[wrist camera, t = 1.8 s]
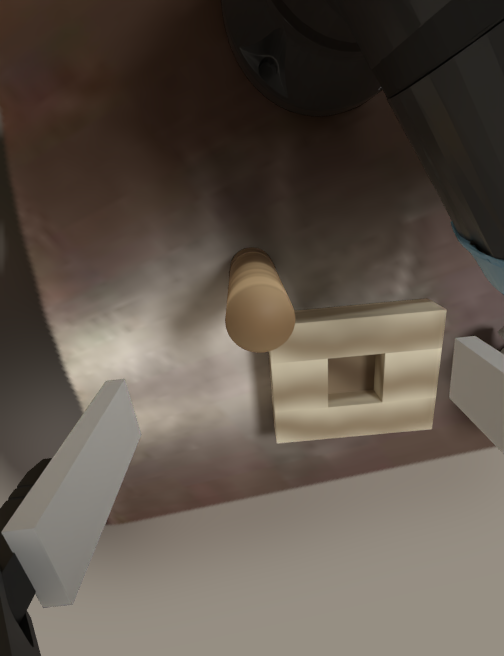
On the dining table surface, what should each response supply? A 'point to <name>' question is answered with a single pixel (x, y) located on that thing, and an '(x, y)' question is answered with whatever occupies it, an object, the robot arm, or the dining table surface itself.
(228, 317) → the leg
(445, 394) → the dining table surface
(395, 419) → the wooden block with hole
